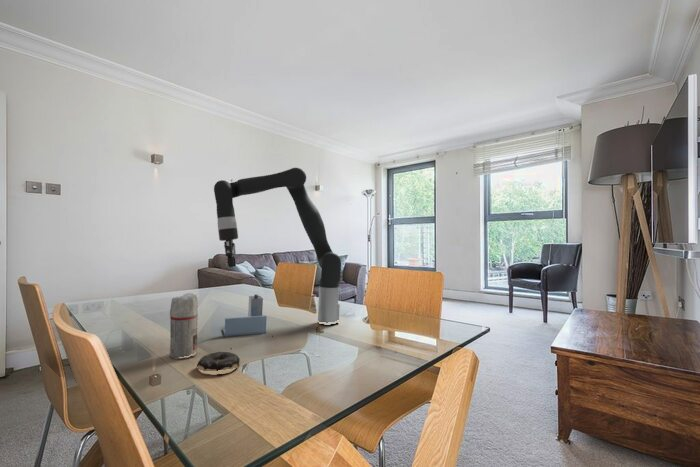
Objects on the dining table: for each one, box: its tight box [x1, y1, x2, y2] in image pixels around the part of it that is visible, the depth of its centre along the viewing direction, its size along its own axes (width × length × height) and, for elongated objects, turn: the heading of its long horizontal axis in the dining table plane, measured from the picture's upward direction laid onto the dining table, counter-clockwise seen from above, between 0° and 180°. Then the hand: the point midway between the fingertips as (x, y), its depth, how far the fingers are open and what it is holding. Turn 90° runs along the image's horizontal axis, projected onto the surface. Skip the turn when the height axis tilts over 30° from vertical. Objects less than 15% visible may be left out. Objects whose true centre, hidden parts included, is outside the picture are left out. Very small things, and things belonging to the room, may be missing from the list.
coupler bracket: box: [222, 315, 268, 337], centre depth 138 cm, size 16×10×7 cm, turn 115°
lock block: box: [247, 293, 264, 317], centre depth 150 cm, size 5×7×13 cm
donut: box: [196, 351, 241, 371], centre depth 99 cm, size 11×12×4 cm
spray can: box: [169, 292, 199, 360], centre depth 108 cm, size 8×8×20 cm
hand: (232, 266), depth 139 cm, fingers open, 8 cm apart
